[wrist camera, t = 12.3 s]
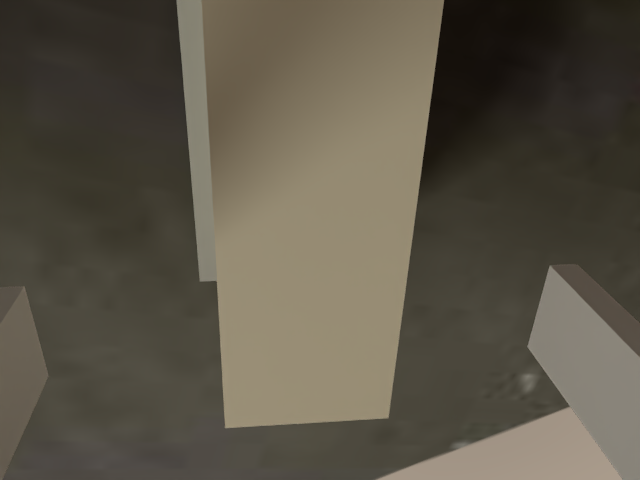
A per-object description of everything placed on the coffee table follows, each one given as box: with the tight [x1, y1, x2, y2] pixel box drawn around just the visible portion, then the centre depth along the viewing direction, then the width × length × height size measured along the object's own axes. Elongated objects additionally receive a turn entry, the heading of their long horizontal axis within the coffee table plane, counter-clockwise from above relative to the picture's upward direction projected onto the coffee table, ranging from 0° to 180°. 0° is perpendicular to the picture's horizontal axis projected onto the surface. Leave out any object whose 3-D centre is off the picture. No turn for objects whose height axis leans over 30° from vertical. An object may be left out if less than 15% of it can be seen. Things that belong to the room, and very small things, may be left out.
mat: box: [177, 0, 217, 281], centre depth 22 cm, size 18×8×1 cm, turn 178°
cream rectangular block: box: [201, 0, 444, 428], centre depth 17 cm, size 16×5×10 cm, turn 178°
